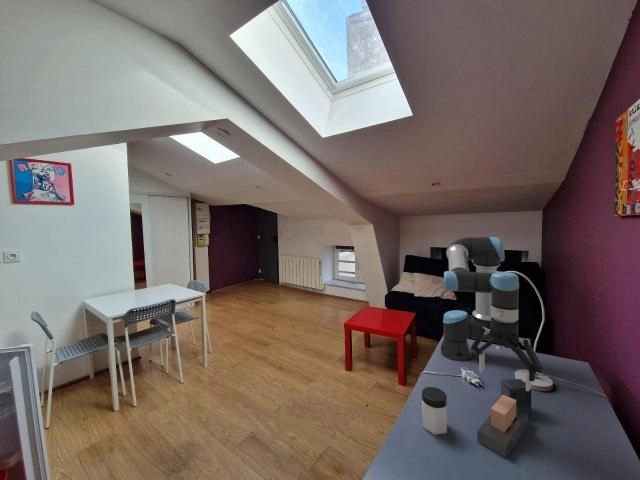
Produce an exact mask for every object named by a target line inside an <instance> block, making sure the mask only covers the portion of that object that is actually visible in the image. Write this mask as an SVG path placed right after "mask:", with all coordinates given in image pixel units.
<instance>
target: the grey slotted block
mask: <svg viewBox="0 0 640 480" xmlns="http://www.w3.org/2000/svg"><path fill="white" fill-rule="evenodd" d="M528 424H529V414H528V412H525V411H523V410H521V409H518V408H516V418H515V422H514V423H511V425H510V426H509V427H508V429H507V434H506V433H504V432H502V431H500V430H498V429H496V428H494V427H493V426H491V414H490V415H489V416H488V417H487V418H486V419H485V421H484V422H483V423H482V425H481V426H480V427H479V428H478V429H477V431H476V432H477V434H476V435H477V437H476V438H477V439H476V440H477V443H478V444H480V445H481V446H484V447H485V448H486V449H489V450H490V451H492V452H494V453H495V454H497V455H499V456H501V457H502V458H504V459H506V458H508V455H509V454H510V452H511V451H512V450H513V448H514V446H515V444H516V443H517V441H518V440H519V438H520V437H521V435H522V434H523V432H524V430H525V429H526V428H527V426H528Z"/></svg>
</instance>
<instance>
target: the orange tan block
mask: <svg viewBox="0 0 640 480" xmlns="http://www.w3.org/2000/svg"><path fill="white" fill-rule="evenodd" d="M490 415H491V426H493V427H494V428H496V429H498V430H500V431H502V432H504V433H506V434H507V429H508V427H509V426H510V425H511V423H514V422H515V418H516V400H515V399H512V398H510V397H507V396H505V395H502V396H500V397H499V398H498V400H497V401H496V402H495V403H494V404H493V406H492V407H490Z"/></svg>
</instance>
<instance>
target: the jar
mask: <svg viewBox="0 0 640 480" xmlns="http://www.w3.org/2000/svg"><path fill="white" fill-rule="evenodd" d="M447 398H448V396H447V394H446V392H445V391H443V390H442V389H440V388H437V387H433V386H428V387H424V388H422V390H421V400H422V403H421V415H422V428H423V429H425V430H426V431H428V432H430V433H431V434H433V435H435V436H436V435H442V434H447V433H448V420H447V418H448V410H447V409H448V405H447V403H448V401H447Z"/></svg>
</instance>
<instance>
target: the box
mask: <svg viewBox="0 0 640 480" xmlns="http://www.w3.org/2000/svg"><path fill="white" fill-rule="evenodd" d="M500 384H501V385H500V387H501V388H500V389H501V390H500V393H501V396H502V395H505V396H507V397H510V398H512V399H515V400H516V408H518V409H521V410H523V411H525V412H528V415H532V412H533V411H532V409H533V408H532V388H531V389H530V390H529V392H528V391H526V381H524V380H523V379H521V378H515V379H514V378H513V379H501V381H500ZM501 396H500V397H501Z"/></svg>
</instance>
